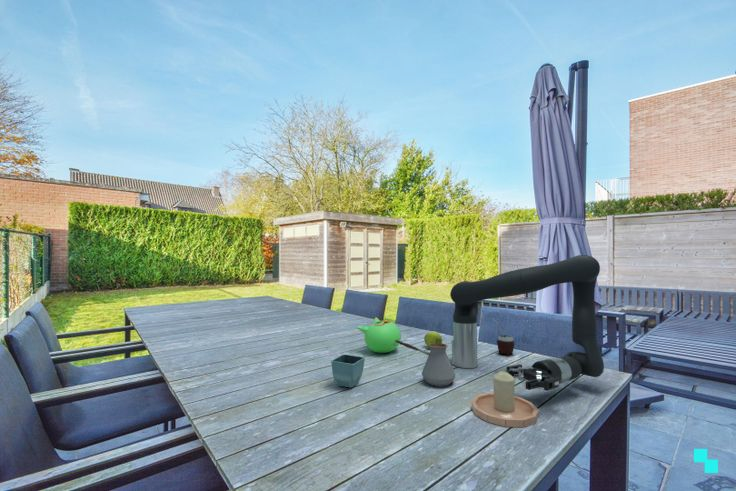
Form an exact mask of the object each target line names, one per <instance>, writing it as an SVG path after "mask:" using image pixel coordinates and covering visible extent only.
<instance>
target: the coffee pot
mask: <svg viewBox="0 0 736 491" xmlns="http://www.w3.org/2000/svg"><path fill="white" fill-rule="evenodd" d="M396 342H397V343H399V345H400V346H401V345H402V346H404V347H406V348H409V349H411V350H414V351H417V352H420V353H422V354H424V355H427V356H428V357H427V359H426V361H425V363H424V365H423V366H424V367H423V368H422V371H421V375H422V378H423V379H424V380H425V382H427V384H428V383H429V385H430V384H431V385H430V386H433V385H435V386H434V387H447V386H450V384H451V383H452V382H453V381H454V380H455V378H456V372H455V371H454V369H453V366H452V362H451V361H450V359H449V356H448V354H447V352H446V351H447V348H448V345H447V344H446V343H443V342H442V343H431V344H429V349H430V352H428V351H426V350H423V349H421V348H418V347H416V346H414V345H412V344H409V343H407V342H403V341H402V340H401V341H398V340H395V341H394V343H395V344H396Z"/></svg>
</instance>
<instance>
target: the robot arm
mask: <svg viewBox="0 0 736 491" xmlns="http://www.w3.org/2000/svg"><path fill="white" fill-rule="evenodd" d="M600 271H601V265H600V263H599V261H598V260H597V259H596V258H595V257H594V256H591V255H588V254H579V255H576V256H572V257H568V258H566V259H563V260H559V261H557V262H554V263H549V264H543V265H535V266H530V267H524V268H520V269H519V268H518V269H515V270H510V271H506V272H503V273H500V274H496V275H494V276H492V277H488V278H487V279H482V280H476V281H467V280H466V281H465V280H464V281H461V282H458V283H456V284H454V285H453V287H451V290H450V293H449V294H450V295H449V296H450V299H451V301H452V302H454V311H453V316H452V326H453V327H452V329H453V330H452V334H453V336H452V337H453V338H452V340H451V366H452V365H453V366H456V367H457V368H463V369H473V368H475V369H476V368H477V367H478V365H479V364H478V360H479V359H478V316H479V314H478V313H479V302H481V301H485V300H490V299H498V298H508V297H514V296H515V297H517V296H522V295H526V294H527V295H528V294H531V293H534V292H538V291H540V290H544V289H546V288H549V287H552V286H554V285H555V286H556V285H560V284H567V283H568V284H569V283H571V285H572V295H573V296H572V298H573V301H572V303H573V305H572V314H571V315H572V317H571V318H572V320H571V335H572V336H571V338H572V342H573V343H574V344H576V345H579V346H581V347H582V348H583V349H584V352H582V351H581V352H580V351H569V352H567V353H566V354H565V355H563V356H560V357H552V358H546V359H543V360H537V361H535V362H534V363H533V364H532V365H531V366H527V367H523V365H522V364H515V365H508V366H506V370H505V371H506V372H507V373H509V374H510V375H511V376H512V377H513V378H514V379H518V380H519V381H525V390H528V391H530V390H534V389H540V390H541V389H543V391H547V392H548V391H552V390H554V389H557V388H559V387H560V384H564V383H566V382H569V381H572V380H575V379H578V378H579V377H580V376H581V375H583V376H586V377H587V376H588V377H591V378H592V377H593V378H598V377H600V376H602V374H603V373H604V370H605V363H604V360H603V355H602V352H601V350H600V347H599V343H598V332H597V330H598V327H597V325H598V324H597V323H598V322H597V313H596V304H595V294H596V293H595V291H596V290H595V289H596V284H597V280H598V276H599V275H600Z"/></svg>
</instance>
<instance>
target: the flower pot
mask: <svg viewBox="0 0 736 491" xmlns="http://www.w3.org/2000/svg"><path fill="white" fill-rule="evenodd" d="M330 363H331V370H332V377H333V378H334V379H333V380H334V381H335V383H336V385H337V386H338V385H339V386H338V387H341V386H345V387H344V388H346V387H352V388H354V387H355V386H356V385H357V384H358V383H359V381H360V380H361V378H362V375H363V371H364V368H365V366H364V365H365V356H358V355H352V354H345V353H344V354H341V355H339V356H338V357H336V358H334V359H332V360H331V361H330ZM354 385H355V386H354ZM353 386H354V387H353Z"/></svg>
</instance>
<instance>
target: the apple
mask: <svg viewBox="0 0 736 491" xmlns="http://www.w3.org/2000/svg"><path fill="white" fill-rule="evenodd" d="M423 339H424V340H423V341H424V342H425V343H424V344H426V346H427V347H429V344H431V343H443V338H442V336H441V334H440V333H439V332H438V331H435V330H433V331H429V332H426V333H425V335H424V338H423ZM429 348H430V347H429Z"/></svg>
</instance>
